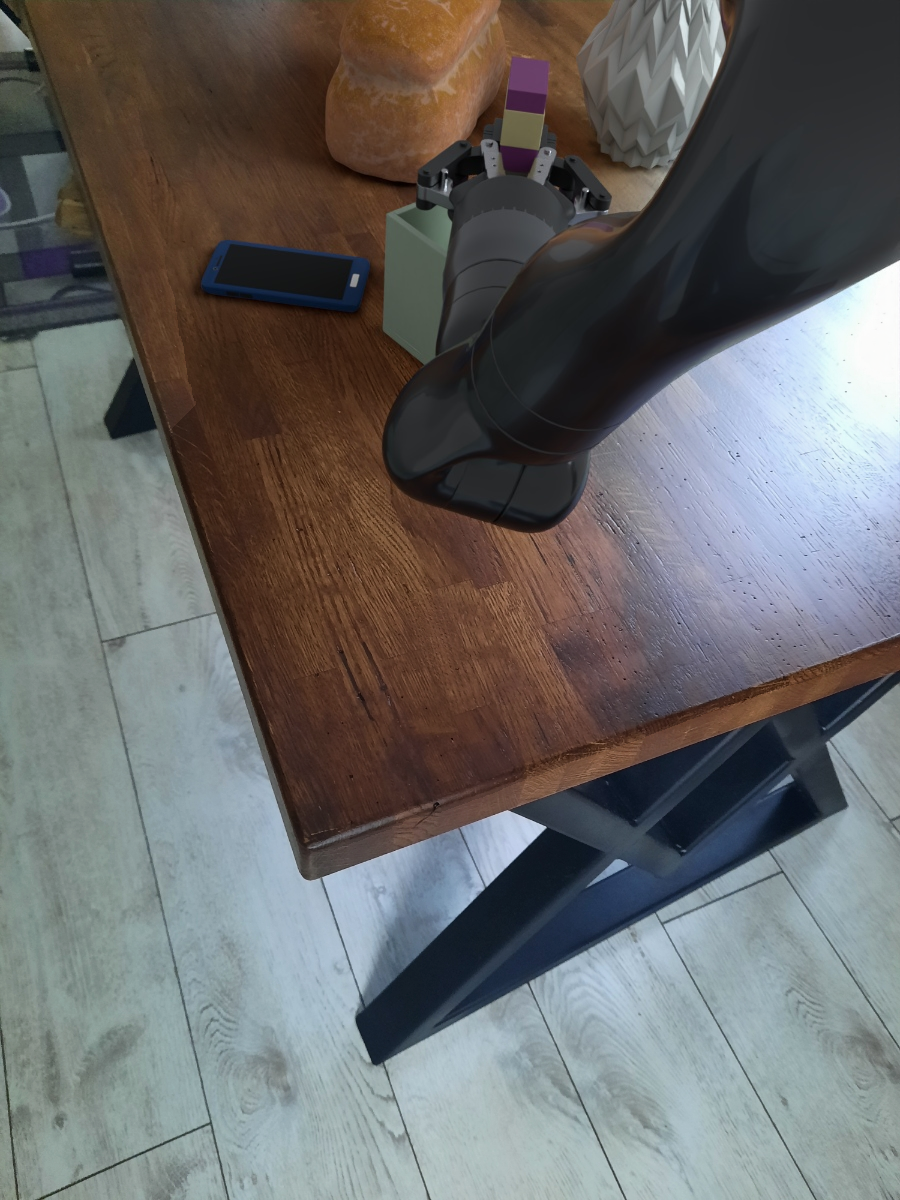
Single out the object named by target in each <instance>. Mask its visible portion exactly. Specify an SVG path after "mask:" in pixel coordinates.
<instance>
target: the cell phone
mask: <svg viewBox="0 0 900 1200" xmlns="http://www.w3.org/2000/svg"><path fill="white" fill-rule="evenodd" d="M370 270H371V263H370V261H369V259H367V258H366V257H360V256H355V255H347V254H340V253H332V252H325V251H324V252H323V251H317V250H309V249H302V248H294V247H287V246H280V245H271V244H264V243H256V242H249V241H242V240H241V241H240V240H235V239H224V240H220V241H219V242H218V243H217V245H216V246H215V249H214V250H213V253H212V255H211V257H210V260H209V261H208V264H207V266H206V269H205V271H204V273H203V275H202V278H201V281H200V287H201V288H200V289H201V290H202V291H203V292H205V293H208V294H211V295H216V296H224V297H230V298H231V297H232V298H238V299H245V300H246V299H247V300H254V301H262V302H268V303H269V302H270V303H276V304H285V305H292V306H300V307H308V308H316V309H322V310H329V311H338V312H346V313H355V312H357V311H358V310H359V309H360V307H361V305H362V302H363V298H364V293H365V290H366V286H367V282H368V278H369V275H370Z"/></svg>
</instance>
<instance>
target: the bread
mask: <svg viewBox="0 0 900 1200" xmlns="http://www.w3.org/2000/svg"><path fill="white" fill-rule="evenodd" d="M501 3H502V0H355V1H353V2H352V4H351V5H350V7H349V8H348V11H346V15H345V17H344V20H343V23H342V28H341V31H340V34H339V39H338V44H339V48H340V52H341V54H340V57H339V62H338V65H337V67H336V69H335V71H334V72H333V75H332V77H331V79H330V82H329V84H328V86H327V91H326V97H325V111H324V112H325V117H324V118H325V124H324V125H325V126H324V127H325V129H324V130H325V133H324V134H325V141H326V145H327V148H328V151H329V154H330V155H331V157H332V158H333V160H334V161H335V162H337V163H339V164H341V165H343V166H345V167H347V168H348V169H350V170H352V171H354V172H357V173H360V174H363V175H366V176H371V177H376V178H381V179H383V180H387V181H389V182H402V183H408V184H417V177H418V170H419V169H420V168H421V167H422V166H424V165H425V164H426V163H428V162H429V161H430V160H432V159H433V158H434V157H436V156H437V155H438V154H440V153H441V152H443V151H444V150H445V149H447V148H448V147H449V146H451V145H452V144H453V143H455V142H456V141H458V140H466V141H467V140H468V138H470V136H471V134H472V133H473V131H474V129H475V128H476V126H477V122H478V119H479V118H480V116H482V115H483V114H484V112H486V110H487V109H488V108H489V107H490V106H491V104H492V103H493V102H494V100H495V99H496V98H497V95H498V94H499V93H498V92H499V91H500V87H501V85H502V81H503V77H504V74H505V69H506V61H507V43H506V39H505V34H504V31H503V27H502V23H501V21H500V16H499V14H498V10H499V8H500V6H501Z"/></svg>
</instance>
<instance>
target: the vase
mask: <svg viewBox="0 0 900 1200" xmlns="http://www.w3.org/2000/svg"><path fill="white" fill-rule="evenodd" d="M725 47H726V42H725V37H724V33H723V28H722V23H721V18H720V11H719V0H614V1H613V2H612V4H611V7H610V8H609V11H608V12H607V14H606V16H605V17H604V18H603V19H601V21H599V22H598V23H597V24H596V25H595V27H594V28H593V29H592V31H591V32H590V34H589V36H588V37H587V39H586V41H585V43H584V44H583V45H582V47H581V49H580V50H579V52H578V54H577V55H576V56H575V57H576V58H575V60H576V65H577V69H578V74H579V77H580V83H581V87H582V94H583V101H584V105H585V109H586V112H587V113H586V114H587V118H588V122H589V125H590V128H591V129H592V130H594V132H595V133H596V142H597V144H599V145H600V153H603V154H606V155H609V157H610V159H611V161H612V162H617V163H618V162H619V163H620V162H621V163H624V164H625V165H627V166H628V167H629V168H635V167H640V166H641V167H643V168H645V169H647V170H651V169H653V168H654V167H655V166H659V167H660V166H661V167H667V165H668V163H669V161H672V160H673V161H674V160H675V159H676V157H677V155H678V154H679V152H680V150H681V148H682V146H683V144H684V142H685V140H686V138H687V136H688V134H689V132H690V130H691V128H692V126H693V124H694V122H695V120H696V118H697V116H698V114H699V112H700V110H701V108H702V106H703V104H704V101H705V99H706V97H707V94H708V92H709V90H710V87H711V85H712V83H713V80H714V78H715V76H716V73H717V70H718V68H719V65H720V62H721V59H722V57H723V54H724V51H725Z"/></svg>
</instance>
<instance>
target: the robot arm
mask: <svg viewBox="0 0 900 1200" xmlns="http://www.w3.org/2000/svg"><path fill="white" fill-rule="evenodd" d="M719 11H720V18H721V23H722V28H723V33H724V37H725V42H726V47H725V51H724V54H723V57H722V59H721V62H720V65H719V68H718V70H717V73H716V76H715V78H714V80H713V83H712V85H711V87H710V90H709V92H708V94H707V97H706V99H705V101H704V104H703V106H702V108H701V110H700V112H699V114H698V116H697V118H696V120H695V122H694V124H693V126H692V128H691V130H690V132H689V134H688V136H687V138H686V140H685V142H684V144H683V146H682V148H681V149H680V150H679V152H678V154H677V156H676V158H675V159H674V160H673V162H672V164H671V165H670V168H668V169H669V170H668V171H667V172H666V174H665V177H664V178H663V180H662V181H661V183H660V185H659V186H658V188H657V189H656V191H655V193H654V194H653V195H652V197H651V198H650V199H649V201H648V202H647V203H646V204H645V205H644V206H643V208H642V209H641V210H635V211H620V212H614V213H613V212H612V213H610V212H609V211H610V208H611V204H612V199H613V196H612V194H611V193H610V192H609V191H608V189H607V188H606V187H605V186H604V185H603V183H602V182H601V181H600V180H599V178H598V177H597V176H596V175H595V174H594V173H593V171H592V170H591V168H589V166H588V165H587V164H586V163H585V162H584V160H583V159H582V158H581V157H580V156H578V155H574V154H568V155H565V157H564V158H561V157H559V156H558V155H557V149H556V148H557V135H556V134H555V133H554V132H551V131H550V132H549V124H543V128H542V134H541V141H540V147H539V150H538V154H537V157H535V159H534V162H533V165H532V168H531V170H530V172H513V171H510V170H506V169H504V168H503V162H502V155H501V152H500V140H501V132H502V124H503V118H499V117H495V118H494V123H493V124H491V123H487V124H486V125H485V126H483V131H482V139H481V141H480V145H477V146H473V144H472V143H471V142H470V141H468V140H467V139H466V140H458V141H456V142H455V143H453V144H452V145H451V146H449V147H448V148H447V149H445V150H444V151H443V152H441V153H440V154H438V155H437V156H436V157H434V158H433V159H432V160H430V161H429V162H428V163H426V164H425V165H424V166H422V167H421V168H420V169H419V170H418V177H417V183H416V188H415V189H416V190H415V202H416V207H417V208H418V209H420V210H424V211H428V210H431V209H432V208H434V207H435V206H436V205H439V206H441V207H443V208H446V209H448V210H447V213H448V217H449V219H450V220H451V222H452V227H451V233H450V238H449V244H448V250H447V256H446V262H445V267H444V271H443V281H442V298H443V304H442V310H441V316H440V322H439V328H438V333H437V339H436V348H435V358H433V359H432V360H430V361H429V362H428V363H426V364H425V365H424V364H423V366H422V367H420V368H419V369H418V370H417V371H416V372H414V374H413V375H412V376H411V377H410V378H409V380H408V381H407V382H406V383H405V384H404V386H403V387H402V388H401V389H400V391H399V393H398V394H397V396H396V397H395V399H394V400H393V403H392V405H391V407H390V409H389V411H388V413H387V416H386V420H385V422H384V426H383V431H382V437H381V455H382V461H383V465H384V468H385V471H386V472H387V475H388V477H389V479H390V480H391V482H392V483H393V485H394V486H395V487H396V488H397V489H398V490H399V491H400V492H401V493H403V495H405V496H407V497H409V498H410V499H412V500H414V501H416V502H419V503H422V504H424V505H428V506H431V507H434V508H437V509H442V510H445V511H448V512H451V513H454V514H458V515H461V516H464V517H467V518H471V519H474V520H477V521H480V522H484V523H487V524H491V525H492V526H497V527H500V528H503V529H506V530H509V531H513V532H517V533H522V534H538V533H543V532H546V531H548V530H552V529H553V528H555V527H556V526H558V525H560V524H561V523H562V522H563V521H564V520H565V519H566V518H568V516H569V515H570V514H571V513H573V511H574V509H575V508H576V507H577V505H578V504H579V502H580V500H581V498H582V496H583V494H584V492H585V490H586V487H587V484H588V483H587V482H588V479H589V475H590V467H591V460H592V456H591V455H592V450H593V449H595V447H597V446H598V445H600V444H601V443H602V442H603V441H605V439H606V438H608V437H609V436H610V435H611V434H612V433H614V431H615V430H616V429H618V428H619V427H620V426H622V425H623V424H624V423H625V422H626V421H627V420H629V418H631V417H632V416H633V415H635V413H637V412H638V411H639V410H640V409H642V407H644V406H645V404H647V403H648V402H649V401H651V399H652V398H654V397H655V396H656V395H657V394H659V393H660V392H661V391H663V389H666V387H668V386H669V385H671V384H672V383H673V382H674V381H676V380H677V379H679V378H680V377H682V376H684V375H685V374H686V373H688V372H689V371H690V370H692V369H694V368H696V367H697V366H699V365H701V364H703V363H704V362H706V361H708V360H709V359H712V358H713V357H715V356H717V355H718V354H721V353H722V352H724V351H726V350H728V349H729V348H731V347H734V346H735V345H737V344H740V343H742V342H744V341H746V340H748V339H750V338H752V337H754V336H756V335H758V334H760V333H763V332H765V331H767V330H768V329H770V328H773V327H774V326H777V325H778V324H780V323H783V322H785V321H787V320H788V319H791V318H793V317H795V316H797V315H799V314H801V313H803V312H805V311H806V310H808V309H810V308H813V307H814V306H816V305H818V304H820V303H822V302H825V301H826V300H828V299H830V298H832V297H834V296H836V295H838V294H840V293H841V292H843V291H845V290H847V289H849V288H851V287H852V286H854V285H856V284H858V283H860V282H862V281H864V280H866V279H867V278H869V277H871V276H873V275H875V274H876V273H878V272H881V271H882V270H884V269H887V268H888V267H890V266H892V265H894V264H896V263H897V262H899V261H900V0H719ZM470 176H473V177H470ZM469 177H470V178H469Z"/></svg>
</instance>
